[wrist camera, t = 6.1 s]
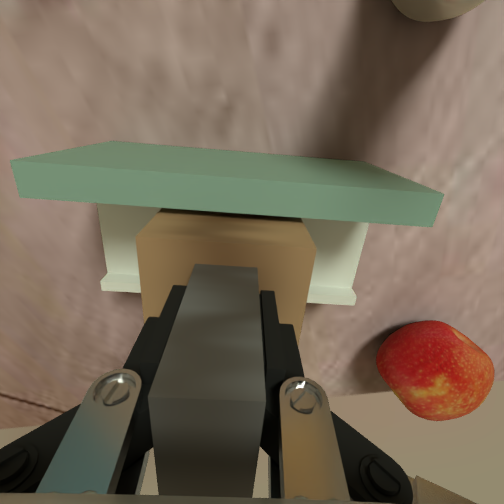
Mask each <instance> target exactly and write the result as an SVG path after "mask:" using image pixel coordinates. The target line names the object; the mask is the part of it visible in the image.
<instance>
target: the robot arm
mask: <svg viewBox="0 0 504 504" xmlns="http://www.w3.org/2000/svg"><path fill="white" fill-rule="evenodd" d="M186 288H187V286H185V285H173V286H172V289H171V291H170V293H169V296H168V298H167V300H166V302H165V305H164V307H163V309H162V312H161V314H160V316H159V317H148V318H147V320H146V322H145V324H144V326H143V328H142V330H141V332H140V334H139V336H138V338H137V340H136V342H135V344H134V346H133V348H132V350H131V353H130V355H129V357H128V359H127V361H126V363H125V365H124V367H123V369H116V370H113V371H110V372H107V373H105V374H103V375H102V376H100V377H99V378H98V379H96V380H95V381H94V382H93V383H92V385H91V386H90V388H89V389H88V391H87V393H86V395H85V397H84V399H83V401H82V403H81V404H79V405H78V406H76V407H74V408H72V409H70V410H69V411H67V412H65V413H63V414H62V415H60V416H58V417H56V418H54V419H53V420H51V421H49V422H47V423H45V424H44V425H42V426H40V427H39V428H37V429H35V430H33V431H31V432H30V433H28V434H26V435H24V436H22V437H21V438H19V439H17V440H15V441H13V442H12V443H10V444H8V445H6V446H4V447H3V448H1V449H0V504H477V503H475V502H473V501H470V500H468V499H466V498H464V497H462V496H460V495H458V494H455V493H453V492H451V491H449V490H447V489H445V488H443V487H440V486H438V485H436V484H434V483H432V482H430V481H427V480H425V479H423V478H421V477H419V476H416V477H415V479H414V478H412V477H410V476H407V475H406V473H405V472H404V471H403V469H402V468H401V466H400V465H398V464H397V463H396V462H395V461H394V460H393V459H392V458H391V457H390V456H388V455H387V454H385V453H384V452H383V451H382V450H381V449H379V448H378V447H377V446H375V445H374V444H373V443H371V442H370V441H369V440H368V439H366V438H365V437H364V436H363V435H361V434H360V433H359V432H357V431H356V430H355V429H354V428H352V427H351V426H350V425H348V424H347V423H346V422H345V421H343V420H342V419H341V418H339V417H338V416H337V415H336V414H334V413H333V412H332V411H330V407H329V402H328V398H327V396H326V393H325V391H324V390H323V389H322V387H321V386H320V385H318V384H317V383H316V382H315V381H313V380H311V379H309V378H305V377H304V372H303V368H302V363H301V359H300V354H299V349H298V345H297V340H296V335H295V331H294V327H293V325H292V324H281V323H279V318H278V312H277V305H276V298H275V292H274V291H270V290H261V291H260V293H259V299H260V315H261V330H262V346H263V361H264V377H265V392H266V406H265V413H264V419H263V426H262V433H261V440H260V447H261V448H262V449H263V450H264V451H265V452H266V453H267V454H268V455H269V457H268V476H269V477H268V478H269V498H242V497H204V496H163V495H140V491H141V487H142V482H143V478H144V474H145V470H146V466H147V461H148V457H149V450H150V449H151V448H153V439H152V430H151V421H150V412H149V403H148V395H149V392H150V389H151V386H152V383H153V381H154V378H155V375H156V372H157V369H158V367H159V364H160V361H161V358H162V355H163V352H164V350H165V347H166V344H167V341H168V338H169V336H170V333H171V330H172V327H173V324H174V321H175V319H176V316H177V313H178V310H179V307H180V305H181V302H182V299H183V296H184V293H185V290H186Z"/></svg>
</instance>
